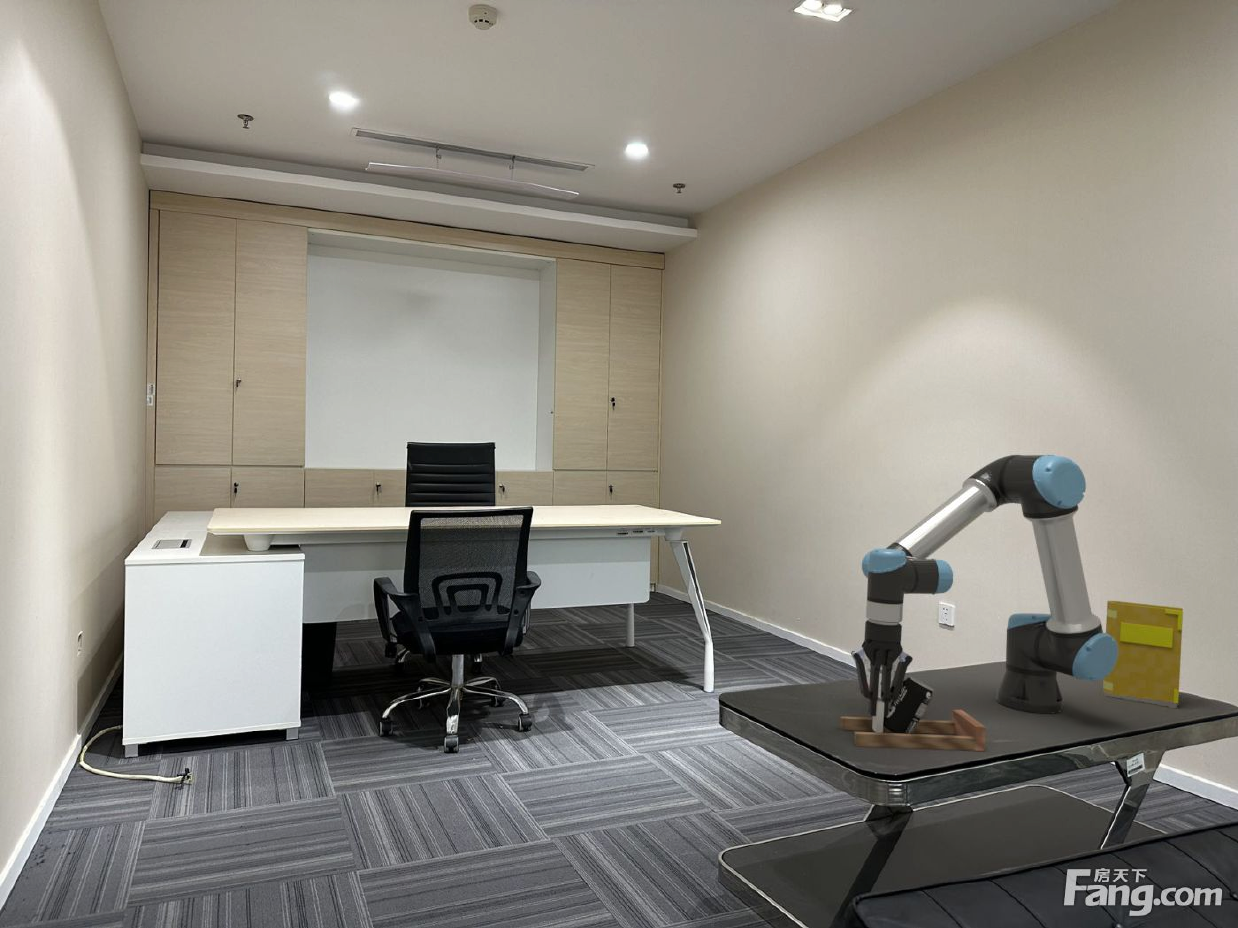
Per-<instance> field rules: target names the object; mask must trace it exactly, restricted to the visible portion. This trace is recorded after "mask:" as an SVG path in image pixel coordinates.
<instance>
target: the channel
mask: <svg viewBox="0 0 1238 928" xmlns="http://www.w3.org/2000/svg"><path fill="white" fill-rule="evenodd" d="M872 721H873V717H867V716H866V717H865V716H840V717H839V728H840V730H841V731H853V745H854V746H855V747H871V748H872V747H875V748H876V747H877V748H895V749H896V748H899V749H920V750H921V749H922V750H923V749H924V750H925V749H926V750H946V751H947V750H948V751H949V750H951V751H969V752H970V751H971V752H972V751H974V752H985V749H986V731H987V729H986V728H987V727H986V726H985V725H983V724H982V723H980V722H979V721H978V720H976V719H975V718H974V717H972V716H971V715H970V714H969V713H966V712H965V711H964V710H962V709H952V717H951V720H937V719H935V720H934V719H920V721H919V723H918V724H917V726H916V728H915V730H914V732H913V733H912V734H901V733H892V732H891V731H889V730H888V729H887V728H885V727H884V726H883V733H876V732H875V731H874V730H873V729H872Z"/></svg>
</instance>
